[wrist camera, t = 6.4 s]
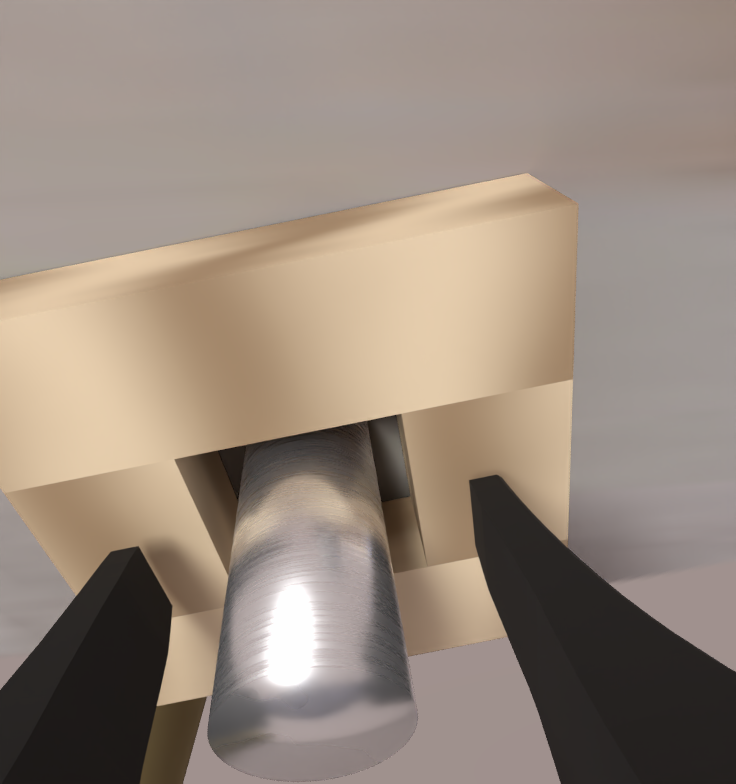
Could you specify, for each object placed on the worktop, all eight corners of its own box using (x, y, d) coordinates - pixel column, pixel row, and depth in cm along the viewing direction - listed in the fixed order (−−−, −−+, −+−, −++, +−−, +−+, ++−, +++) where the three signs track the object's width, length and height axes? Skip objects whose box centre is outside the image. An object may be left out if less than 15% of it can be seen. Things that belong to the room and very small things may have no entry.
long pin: (366, 381, 14) (420, 656, 8) (370, 478, 16) (416, 767, 10) (238, 392, 14) (187, 683, 8) (256, 489, 16) (227, 792, 9)
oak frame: (527, 173, 12) (578, 204, 10) (533, 555, 18) (564, 625, 16) (-30, 285, 12) (-104, 341, 10) (171, 627, 18) (154, 706, 16)
